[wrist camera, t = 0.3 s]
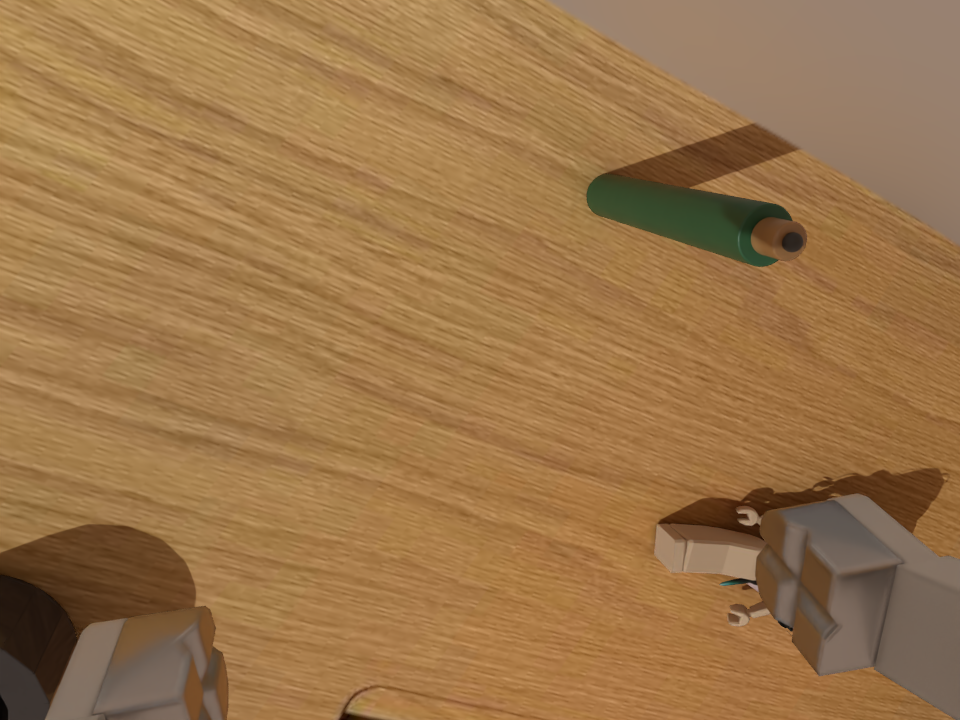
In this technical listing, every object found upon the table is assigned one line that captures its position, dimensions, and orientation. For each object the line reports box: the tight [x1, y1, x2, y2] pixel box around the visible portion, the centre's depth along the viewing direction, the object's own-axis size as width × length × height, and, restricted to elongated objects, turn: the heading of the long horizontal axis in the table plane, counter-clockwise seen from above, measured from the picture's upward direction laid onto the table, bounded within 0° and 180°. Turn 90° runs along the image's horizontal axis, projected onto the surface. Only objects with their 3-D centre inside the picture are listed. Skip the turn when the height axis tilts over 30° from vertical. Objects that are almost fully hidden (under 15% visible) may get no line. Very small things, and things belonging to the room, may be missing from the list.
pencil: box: [587, 174, 807, 267], centre depth 29 cm, size 2×2×15 cm
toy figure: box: [654, 506, 913, 632], centre depth 42 cm, size 7×6×15 cm
